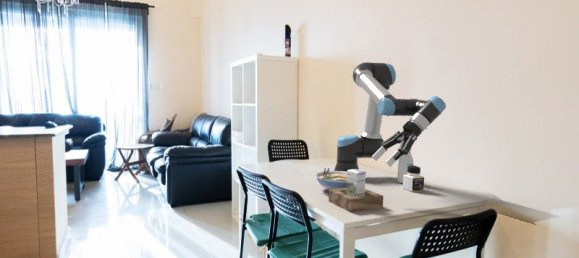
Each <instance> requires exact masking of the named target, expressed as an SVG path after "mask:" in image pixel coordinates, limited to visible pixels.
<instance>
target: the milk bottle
mask: <svg viewBox="0 0 579 258" xmlns="http://www.w3.org/2000/svg"><path fill="white" fill-rule="evenodd" d="M411 151H412V148H411V149H410V151H409V152H408V154H407V155H405V154H404V155H403V156H401V157H400V158H399V159H398V164H397V178H396V179H397V183H400V184H403V175H408V174H407V172H408V166H411V165H414V158H413V156H412V152H411Z"/></svg>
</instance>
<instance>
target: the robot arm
mask: <svg viewBox="0 0 579 258" xmlns="http://www.w3.org/2000/svg"><path fill="white" fill-rule="evenodd" d="M396 78H397V72H396V69H395V68H394V65H392V64H391V63H387V62H368V61H367V62H366V61H365V62H361V63H359V64H358V65H357V66H355V68H354V69H353V71H352V79H353V82H354V84H356V86H358V87H360V88H362V89H363V90H364V92H366V93H367V95H368V96H369V97H368V103H367V110H366V117H365V125H364V130H363V132H361V133H360V134H361V135H360V137H359V135H356V134H350V135H349V134H348V135H343V136H339V137H338V139H337V145H336V148H337V149H336V164H335V166H334V170H333V171H344V172H347V170H351V169H358V170H360V169H359V163H358V159H373V160H375V162H377V161H378V160H379V159H380V158H381V157H382V156H383V155H384V154H385V153H386V152H388V149H390V148H392V147H393V146H395V145H396V146H397V144H399V148H397V150H396V151H394V153H392V155H390V157H389V158H388V159H387V160H386V161H385V163H386V165H388V167H389V168H391V167H392V166H393V165H394V164H395V163H396V162H397V161H399V158H400V157H401V156H403V155H404V154H405V155H407V154H408V152H409V151H410V149H411V150H412V147H413V145H414V144H415V143H416V141H417V140H418V137H419V136H420V135H421V134H422V133H423V132H425V130H427V129H428V127H429V126H430V125H431V124H432V123H433V122H434V121H436V119H438V118H439V116H441V115H442V113H443V112H444V110H445V109H446V108H447V105H446V102H445V101H444V99H442V98H441V97H439V96H437V95H433V96H431V97H430V98H429V99H428V100H425V99H424V100H423V99H418V98H396V97H395V96H393V94H391V92H390V91H389V90H390V87H391V86H393V85H394V84H395V83H396V80H397V79H396ZM383 116H386V117H391V116H393V117H394V116H395V117H410V118H409V119H408V121H406V122H405V124H403V125H402V131H400V130H397V131H396V132H395V133H394V134H393V135H391V136H390V137H388V138H387V139H385V140H384V138H383V136H382V134H381V133H380V132H381V126H382V121H383Z"/></svg>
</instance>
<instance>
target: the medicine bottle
mask: <svg viewBox="0 0 579 258" xmlns="http://www.w3.org/2000/svg"><path fill="white" fill-rule="evenodd" d="M421 169H422V167H420V166H418V165H414V164H413V165H411V166H408V172H407V174H408V175H403V183H402V189H403V190H405V191H407V192H411V193H417V192H424V190H425V189H424V188H425V187H424V186H425V177H424V176H423V175H421Z"/></svg>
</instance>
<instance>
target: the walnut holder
mask: <svg viewBox="0 0 579 258" xmlns="http://www.w3.org/2000/svg"><path fill="white" fill-rule="evenodd" d="M346 191H347V188H342V189H332V190H329V189H328V203H331V204H333V205H335V206H337V207H338V208H342V210H345V211H347V212H349V213H355V212H361V211H362V212H363V211H370V210H376V209H383V208H384V195H382V194H380V193H377V192H374V191H372V190H370V189H367V188H365V196H357V197H352V196H349V195H347V194H346Z"/></svg>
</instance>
